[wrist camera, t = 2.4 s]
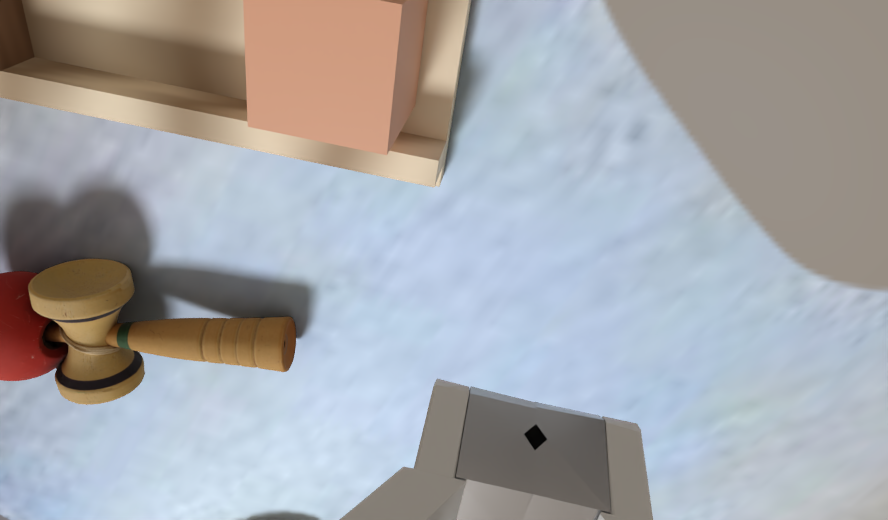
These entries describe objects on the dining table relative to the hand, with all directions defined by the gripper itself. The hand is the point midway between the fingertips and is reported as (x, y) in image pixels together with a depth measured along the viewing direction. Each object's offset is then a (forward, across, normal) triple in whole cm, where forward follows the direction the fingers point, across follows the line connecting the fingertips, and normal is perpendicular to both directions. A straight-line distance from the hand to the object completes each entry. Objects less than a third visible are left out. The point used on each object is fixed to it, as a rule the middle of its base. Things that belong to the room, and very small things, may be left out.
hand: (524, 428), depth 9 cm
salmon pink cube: (+18, +8, 0) cm, 19 cm away
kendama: (+20, +19, +18) cm, 33 cm away
